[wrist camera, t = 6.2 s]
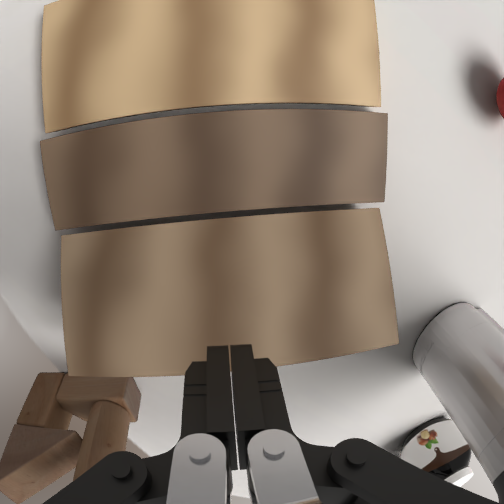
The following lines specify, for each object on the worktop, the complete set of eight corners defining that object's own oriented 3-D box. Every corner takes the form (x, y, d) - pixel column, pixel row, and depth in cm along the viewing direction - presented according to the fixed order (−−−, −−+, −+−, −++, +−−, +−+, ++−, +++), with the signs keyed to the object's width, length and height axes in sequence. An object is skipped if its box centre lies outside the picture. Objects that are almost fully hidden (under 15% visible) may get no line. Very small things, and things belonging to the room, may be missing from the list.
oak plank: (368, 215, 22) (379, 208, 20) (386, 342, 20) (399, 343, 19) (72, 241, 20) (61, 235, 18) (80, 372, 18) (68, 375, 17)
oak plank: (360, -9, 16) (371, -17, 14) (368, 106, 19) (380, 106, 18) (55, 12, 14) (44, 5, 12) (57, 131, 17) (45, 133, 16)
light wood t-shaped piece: (37, 370, 25) (-20, 520, 9) (130, 368, 26) (99, 560, 10) (53, 395, 27) (10, 539, 11) (142, 394, 28) (125, 570, 11)
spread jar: (454, 406, 37) (489, 459, 27) (440, 440, 42) (467, 487, 31) (385, 439, 37) (415, 502, 27) (381, 468, 42) (403, 520, 31)
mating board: (373, 112, 20) (387, 113, 18) (371, 194, 22) (384, 202, 20) (53, 138, 18) (39, 141, 16) (66, 220, 20) (55, 230, 18)
